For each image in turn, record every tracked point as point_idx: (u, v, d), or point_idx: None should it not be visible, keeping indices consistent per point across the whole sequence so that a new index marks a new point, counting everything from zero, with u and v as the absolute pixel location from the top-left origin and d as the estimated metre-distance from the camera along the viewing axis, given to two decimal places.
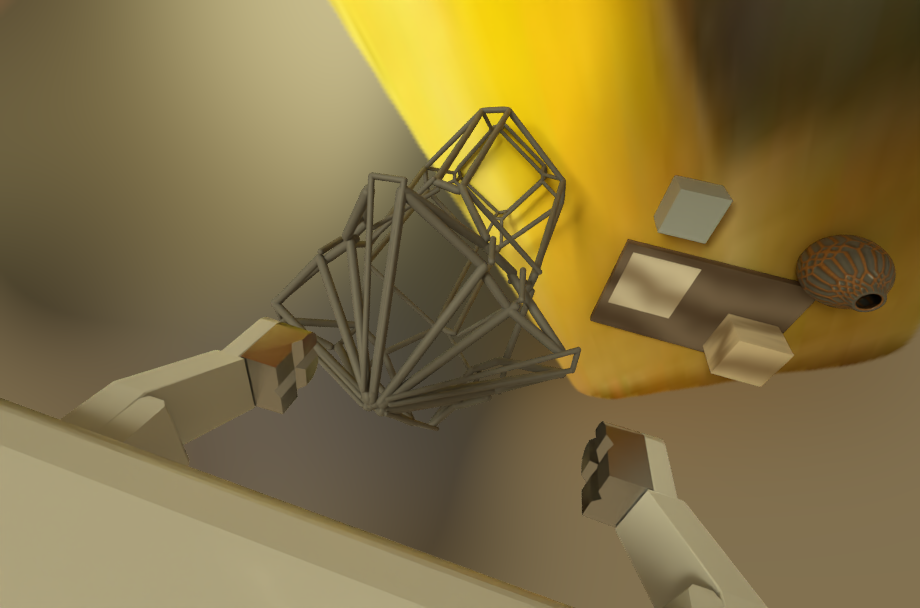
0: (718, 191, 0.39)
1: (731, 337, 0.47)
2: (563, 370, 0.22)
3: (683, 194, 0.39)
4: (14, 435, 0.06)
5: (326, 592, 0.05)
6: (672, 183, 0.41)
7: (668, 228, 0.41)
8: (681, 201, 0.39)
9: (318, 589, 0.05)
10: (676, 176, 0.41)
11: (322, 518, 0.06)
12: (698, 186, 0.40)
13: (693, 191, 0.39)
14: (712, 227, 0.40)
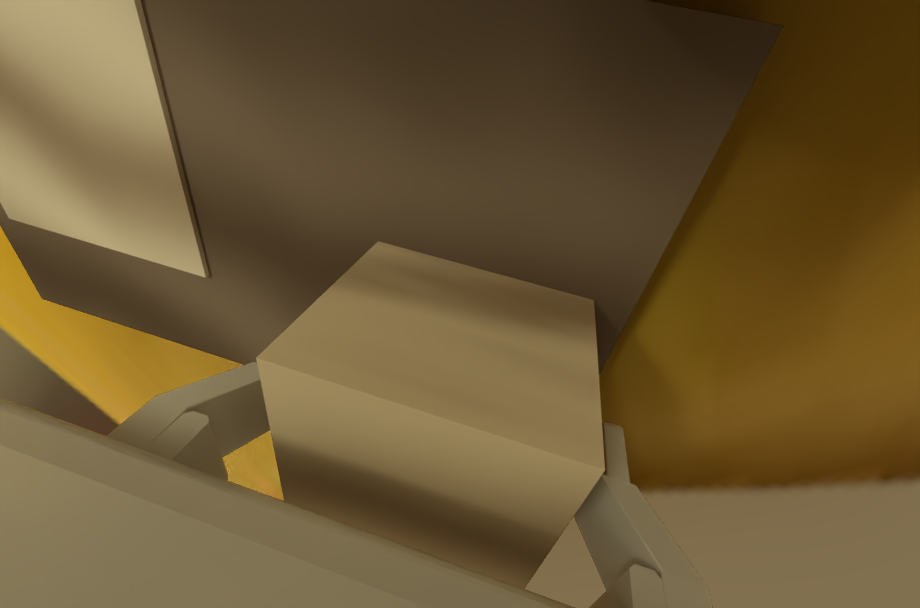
0: None
1: None
2: None
3: None
4: (14, 435, 0.06)
5: (326, 592, 0.05)
6: None
7: None
8: None
9: (318, 589, 0.05)
10: None
11: (322, 518, 0.06)
12: None
13: None
14: None
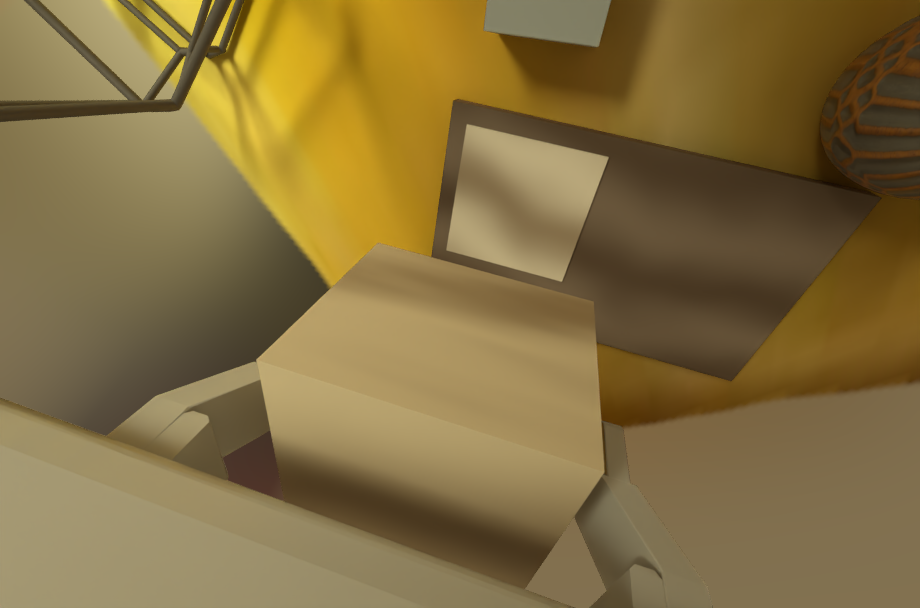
0: None
1: None
2: None
3: None
4: (14, 435, 0.06)
5: (326, 592, 0.05)
6: None
7: (504, 13, 0.16)
8: None
9: (318, 589, 0.05)
10: None
11: (322, 518, 0.06)
12: None
13: None
14: None
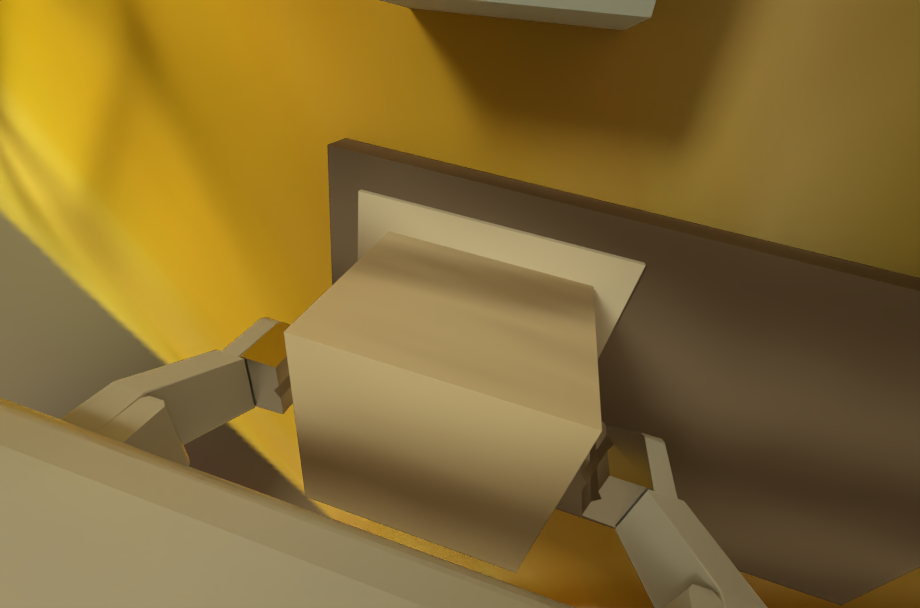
0: None
1: None
2: None
3: None
4: (14, 435, 0.06)
5: (326, 592, 0.05)
6: None
7: None
8: None
9: (318, 589, 0.05)
10: None
11: (322, 518, 0.06)
12: None
13: None
14: None
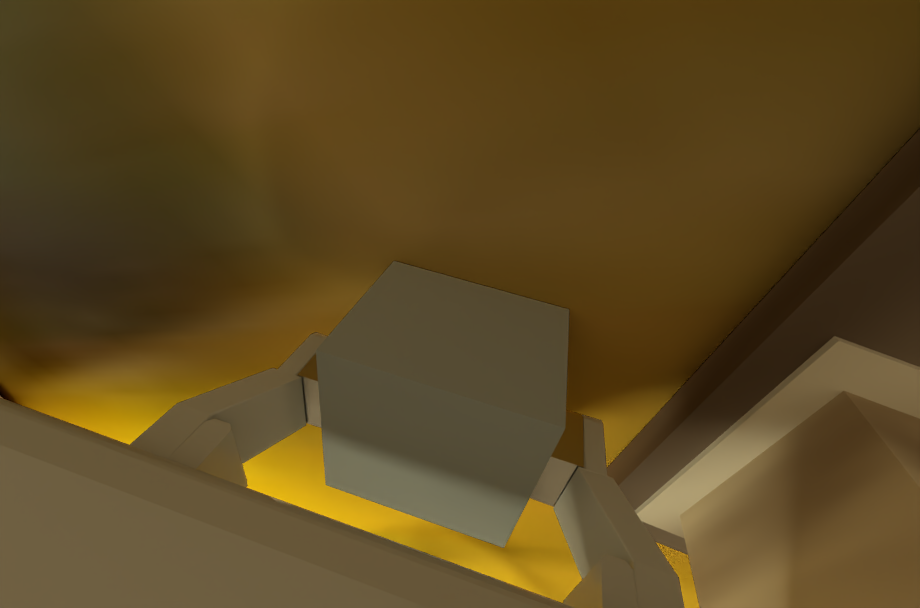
0: None
1: None
2: None
3: (340, 480, 0.10)
4: (14, 435, 0.06)
5: (326, 592, 0.05)
6: None
7: (483, 523, 0.10)
8: (366, 486, 0.10)
9: (318, 589, 0.05)
10: None
11: (322, 518, 0.06)
12: None
13: None
14: (462, 406, 0.07)
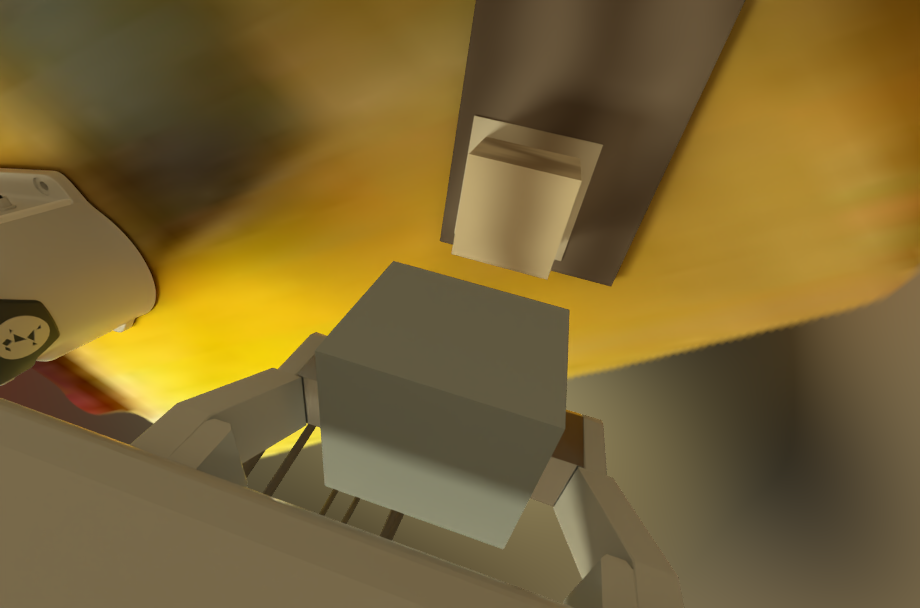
0: None
1: None
2: None
3: (339, 481, 0.10)
4: (14, 435, 0.06)
5: (326, 592, 0.05)
6: None
7: (483, 525, 0.10)
8: (366, 487, 0.10)
9: (318, 589, 0.05)
10: None
11: (322, 518, 0.06)
12: None
13: None
14: (462, 407, 0.07)
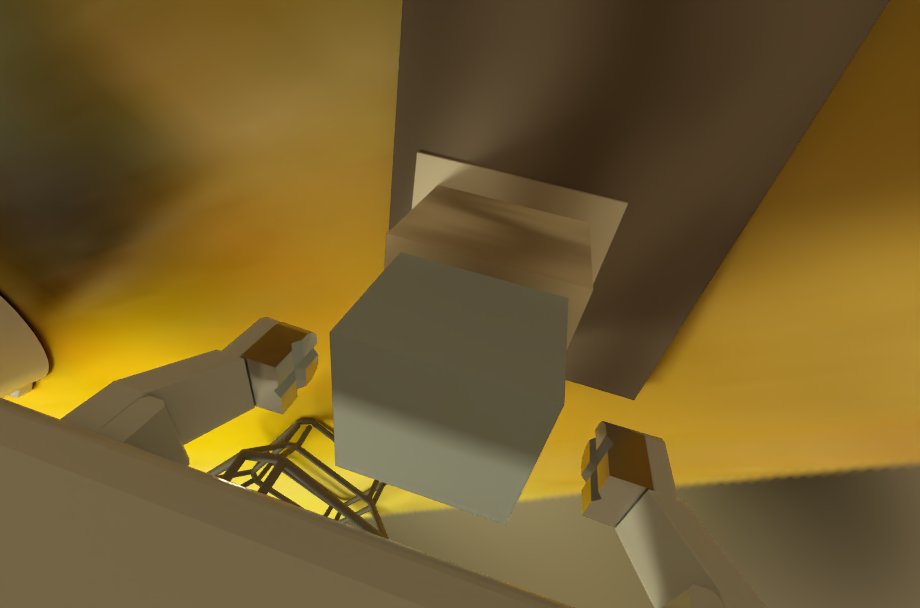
0: None
1: None
2: None
3: (349, 460, 0.11)
4: (14, 435, 0.06)
5: (326, 592, 0.05)
6: None
7: (486, 501, 0.10)
8: (375, 466, 0.10)
9: (318, 589, 0.05)
10: None
11: (322, 518, 0.06)
12: None
13: None
14: (468, 385, 0.08)
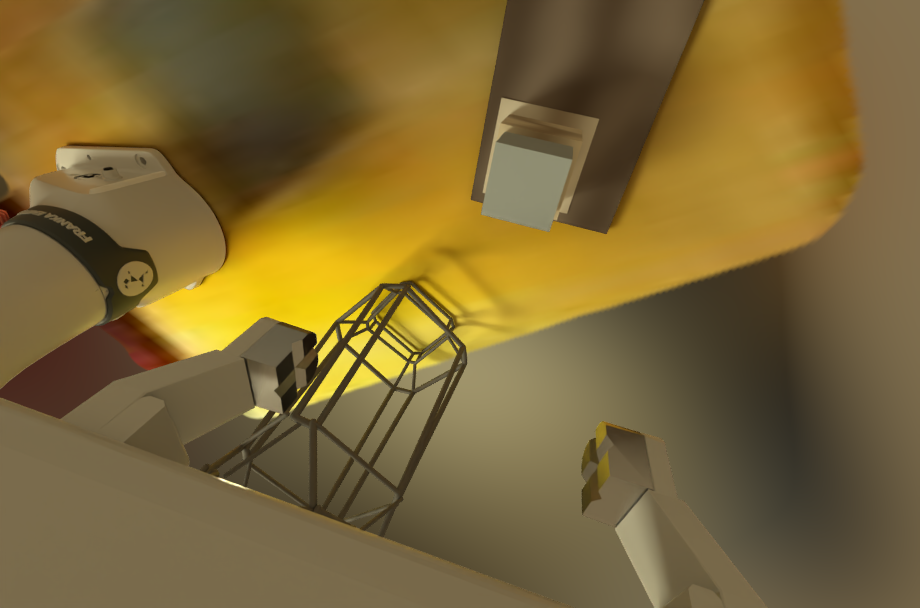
0: None
1: None
2: None
3: (488, 209, 0.27)
4: (14, 435, 0.06)
5: (326, 592, 0.05)
6: None
7: (542, 218, 0.27)
8: (498, 209, 0.27)
9: (318, 589, 0.05)
10: None
11: (322, 518, 0.06)
12: None
13: (485, 197, 0.27)
14: (541, 157, 0.25)
